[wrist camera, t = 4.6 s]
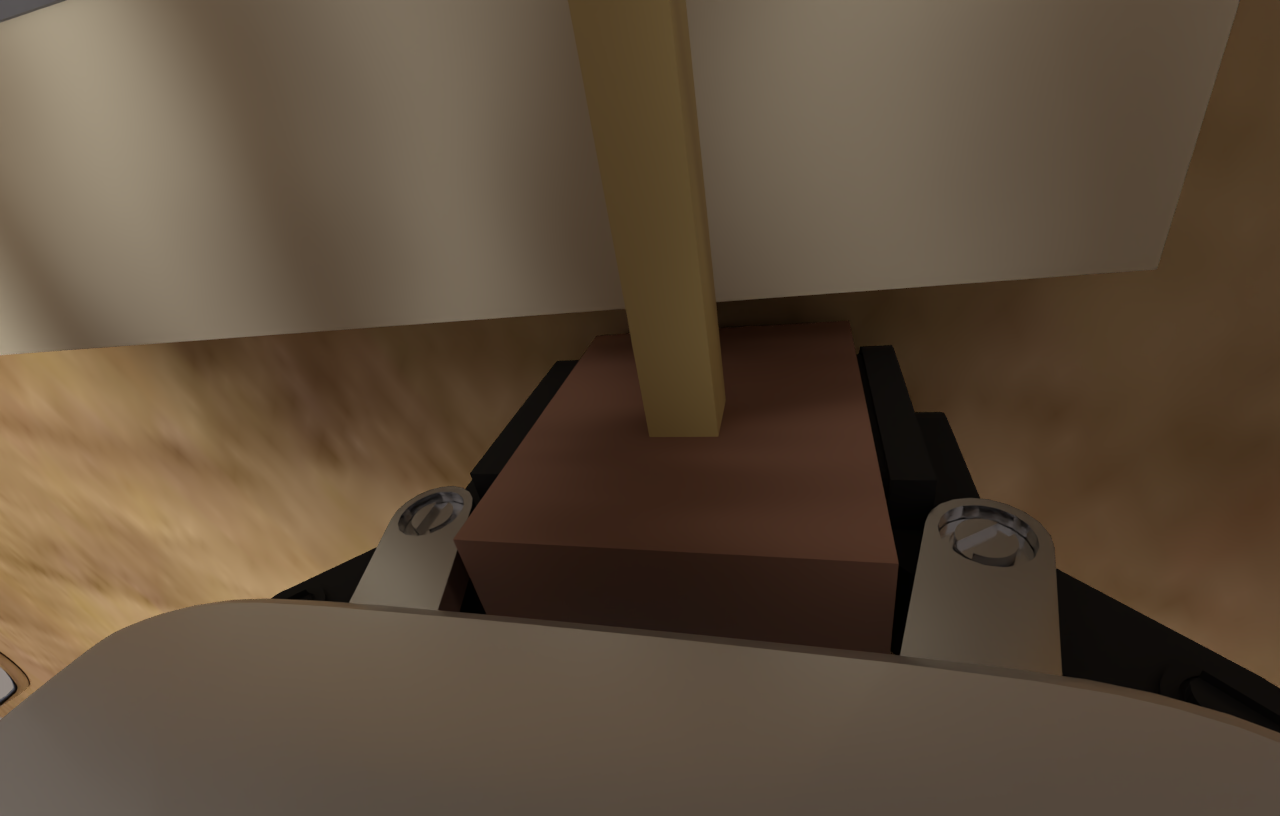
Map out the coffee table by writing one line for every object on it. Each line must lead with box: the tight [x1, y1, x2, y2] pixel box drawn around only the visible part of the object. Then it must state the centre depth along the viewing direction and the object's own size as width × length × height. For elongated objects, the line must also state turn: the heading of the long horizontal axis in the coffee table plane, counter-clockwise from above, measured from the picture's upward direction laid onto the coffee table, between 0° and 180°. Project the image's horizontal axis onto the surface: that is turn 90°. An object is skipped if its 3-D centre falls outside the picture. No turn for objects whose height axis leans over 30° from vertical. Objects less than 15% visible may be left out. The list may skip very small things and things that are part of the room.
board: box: [0, 0, 1240, 355], centre depth 10 cm, size 26×9×2 cm, turn 100°
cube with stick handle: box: [453, 0, 899, 654], centre depth 8 cm, size 5×11×6 cm, turn 10°
